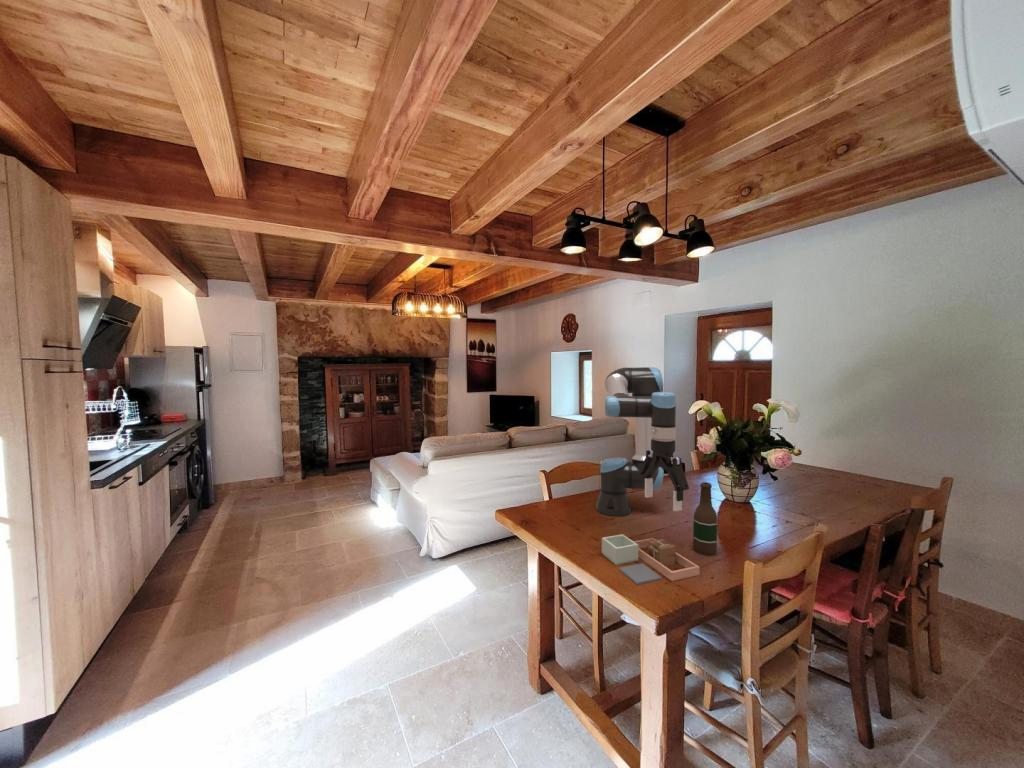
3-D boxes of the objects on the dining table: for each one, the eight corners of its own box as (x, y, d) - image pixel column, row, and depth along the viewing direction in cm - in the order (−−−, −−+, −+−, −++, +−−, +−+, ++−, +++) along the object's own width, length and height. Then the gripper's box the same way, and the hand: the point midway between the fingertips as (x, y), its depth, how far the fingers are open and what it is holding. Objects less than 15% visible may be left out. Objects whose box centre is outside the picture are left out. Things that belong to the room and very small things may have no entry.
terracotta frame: (628, 549, 136) (628, 542, 136) (652, 544, 139) (652, 537, 139) (671, 581, 116) (672, 572, 116) (699, 574, 119) (699, 566, 119)
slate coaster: (619, 569, 122) (619, 567, 122) (642, 565, 125) (642, 563, 125) (637, 584, 114) (637, 582, 114) (661, 579, 117) (661, 577, 117)
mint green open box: (601, 553, 133) (601, 537, 133) (622, 549, 136) (622, 534, 136) (616, 565, 125) (616, 548, 125) (638, 560, 128) (638, 544, 128)
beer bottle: (710, 558, 129) (711, 488, 128) (688, 549, 136) (689, 482, 135) (721, 551, 134) (722, 483, 133) (699, 543, 140) (700, 478, 139)
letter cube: (647, 558, 129) (648, 541, 129) (662, 555, 131) (662, 538, 131) (660, 567, 124) (660, 549, 123) (675, 564, 126) (675, 546, 125)
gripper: (630, 434, 136) (629, 493, 137) (682, 447, 113) (681, 518, 114) (647, 433, 139) (646, 491, 140) (702, 445, 115) (701, 515, 116)
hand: (662, 503), depth 127 cm, fingers open, 13 cm apart
